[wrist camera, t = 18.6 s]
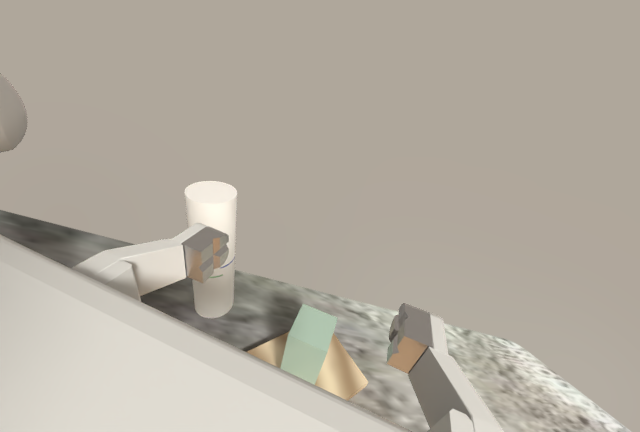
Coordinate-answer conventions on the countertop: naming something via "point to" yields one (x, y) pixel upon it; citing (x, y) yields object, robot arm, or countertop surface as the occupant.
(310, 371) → the mint green rectangular block
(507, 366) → the countertop surface
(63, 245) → the countertop surface
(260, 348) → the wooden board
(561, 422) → the countertop surface
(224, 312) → the cylindrical container
